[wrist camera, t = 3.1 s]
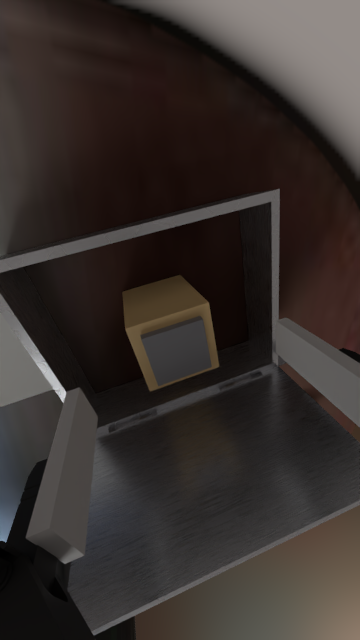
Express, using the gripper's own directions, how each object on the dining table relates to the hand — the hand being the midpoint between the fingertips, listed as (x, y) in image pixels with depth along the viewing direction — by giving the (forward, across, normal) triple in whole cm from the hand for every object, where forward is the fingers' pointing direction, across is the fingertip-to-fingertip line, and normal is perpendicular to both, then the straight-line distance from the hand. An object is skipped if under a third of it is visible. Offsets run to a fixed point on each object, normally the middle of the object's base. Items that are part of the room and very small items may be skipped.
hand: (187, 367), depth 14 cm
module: (+10, 0, 0) cm, 10 cm away
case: (+10, 0, 0) cm, 10 cm away
